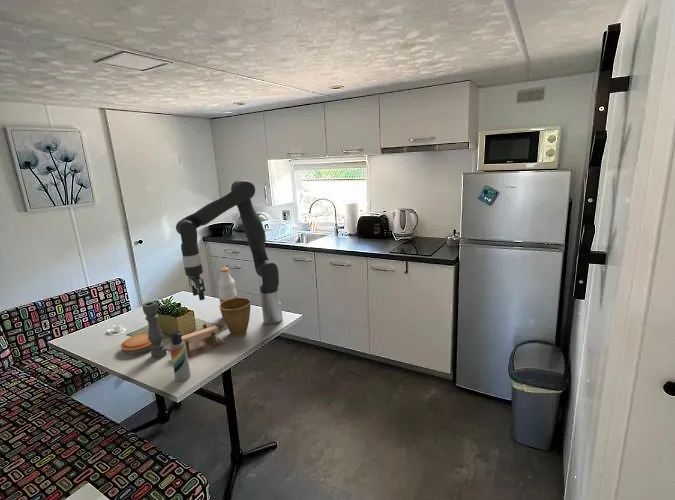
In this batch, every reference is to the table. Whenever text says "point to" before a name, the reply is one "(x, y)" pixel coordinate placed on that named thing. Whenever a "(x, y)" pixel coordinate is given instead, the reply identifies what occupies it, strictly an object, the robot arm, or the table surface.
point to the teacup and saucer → (116, 329)
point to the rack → (203, 344)
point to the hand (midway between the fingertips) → (198, 297)
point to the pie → (137, 344)
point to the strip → (200, 334)
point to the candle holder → (154, 330)
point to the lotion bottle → (179, 356)
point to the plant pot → (236, 315)
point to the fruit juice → (226, 286)
